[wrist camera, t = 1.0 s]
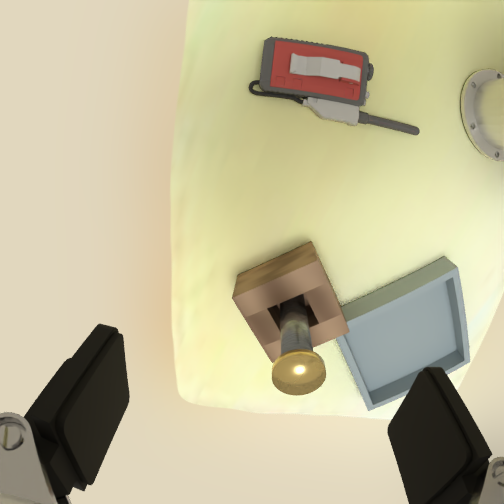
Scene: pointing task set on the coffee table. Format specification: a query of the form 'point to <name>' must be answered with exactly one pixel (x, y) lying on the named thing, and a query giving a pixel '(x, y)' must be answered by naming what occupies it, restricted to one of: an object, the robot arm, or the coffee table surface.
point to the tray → (406, 332)
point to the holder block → (284, 288)
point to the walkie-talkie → (321, 80)
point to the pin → (297, 352)
